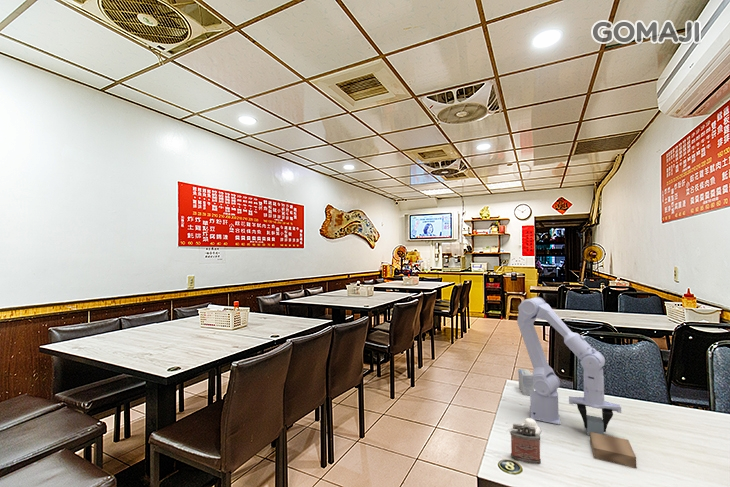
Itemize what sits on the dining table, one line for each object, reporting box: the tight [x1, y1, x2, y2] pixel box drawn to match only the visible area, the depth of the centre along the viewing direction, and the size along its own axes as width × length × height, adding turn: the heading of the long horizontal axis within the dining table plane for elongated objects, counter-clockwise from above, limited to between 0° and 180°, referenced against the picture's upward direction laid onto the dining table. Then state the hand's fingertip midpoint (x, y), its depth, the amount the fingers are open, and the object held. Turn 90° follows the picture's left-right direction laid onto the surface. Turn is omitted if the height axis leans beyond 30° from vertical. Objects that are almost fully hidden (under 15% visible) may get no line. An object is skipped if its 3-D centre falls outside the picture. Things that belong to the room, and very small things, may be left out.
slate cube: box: [585, 414, 605, 437], centre depth 113 cm, size 4×4×5 cm
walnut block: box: [589, 432, 637, 469], centre depth 102 cm, size 10×10×3 cm
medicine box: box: [518, 368, 535, 396], centre depth 147 cm, size 8×4×9 cm, turn 168°
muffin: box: [520, 417, 542, 436], centre depth 110 cm, size 6×6×7 cm
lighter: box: [509, 423, 542, 465], centre depth 100 cm, size 8×3×10 cm, turn 71°
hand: (594, 429), depth 113 cm, fingers closed on slate cube, 4 cm apart
